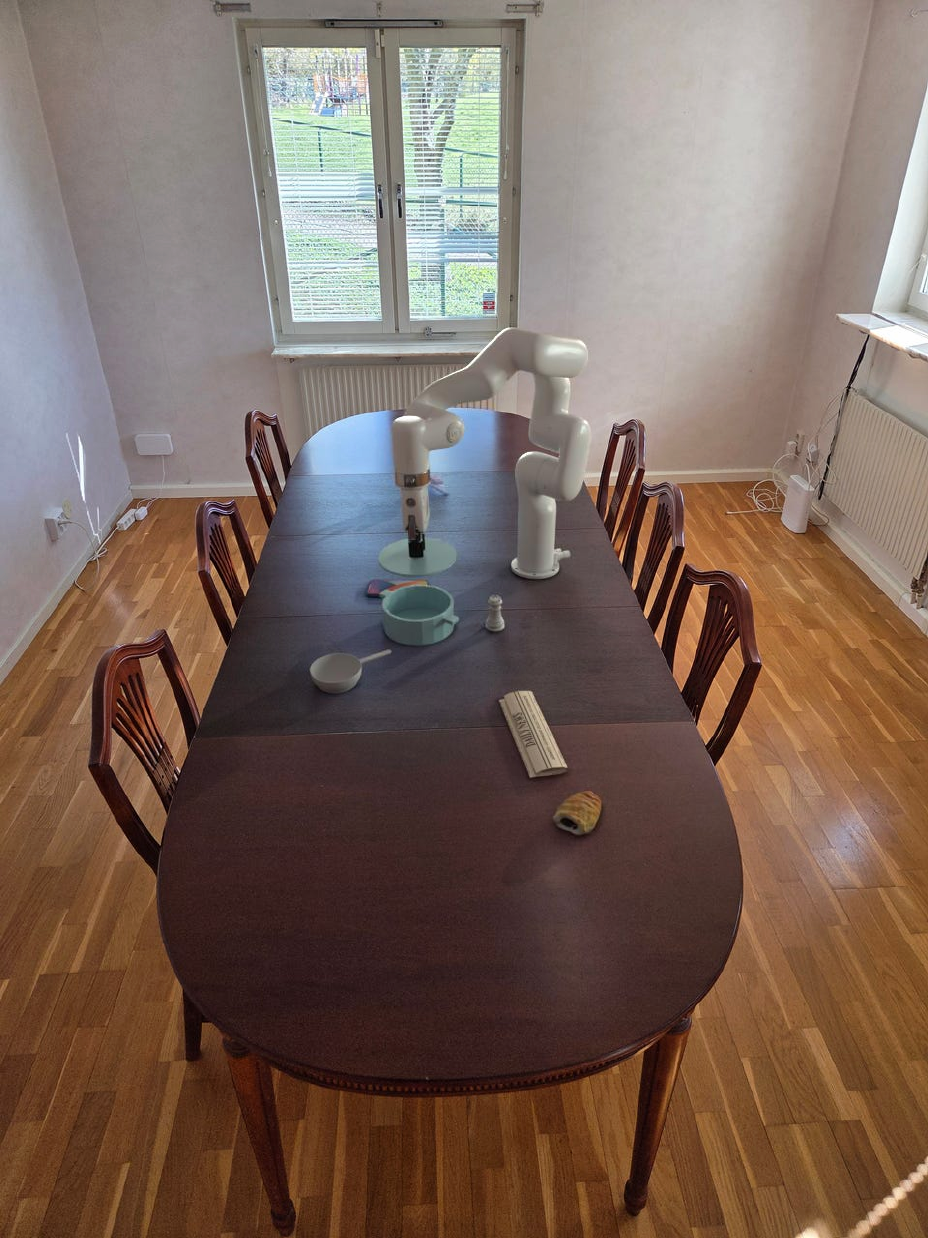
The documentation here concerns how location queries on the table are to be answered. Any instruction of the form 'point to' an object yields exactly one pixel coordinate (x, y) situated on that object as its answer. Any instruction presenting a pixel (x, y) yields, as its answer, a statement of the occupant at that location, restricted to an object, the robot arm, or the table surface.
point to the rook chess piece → (495, 615)
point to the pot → (418, 614)
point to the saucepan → (339, 671)
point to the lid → (433, 561)
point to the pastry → (578, 813)
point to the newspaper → (532, 734)
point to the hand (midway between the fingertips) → (417, 552)
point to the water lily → (436, 483)
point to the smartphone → (390, 585)
